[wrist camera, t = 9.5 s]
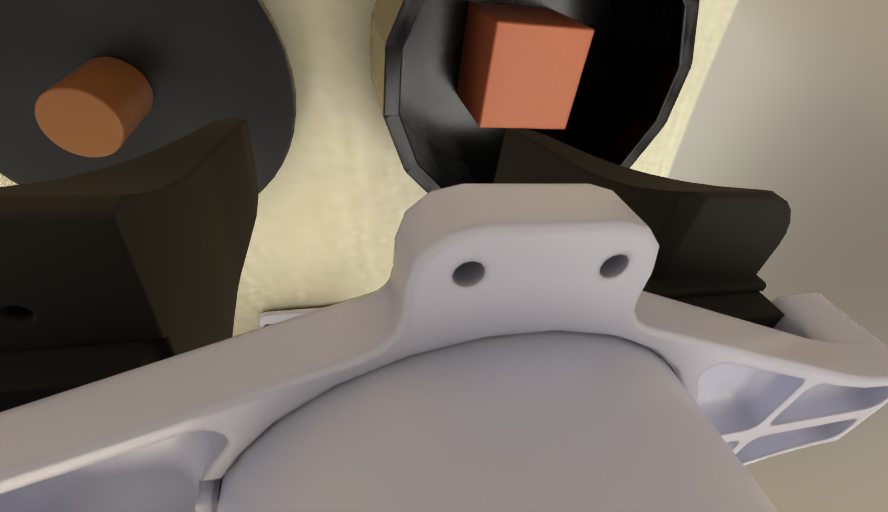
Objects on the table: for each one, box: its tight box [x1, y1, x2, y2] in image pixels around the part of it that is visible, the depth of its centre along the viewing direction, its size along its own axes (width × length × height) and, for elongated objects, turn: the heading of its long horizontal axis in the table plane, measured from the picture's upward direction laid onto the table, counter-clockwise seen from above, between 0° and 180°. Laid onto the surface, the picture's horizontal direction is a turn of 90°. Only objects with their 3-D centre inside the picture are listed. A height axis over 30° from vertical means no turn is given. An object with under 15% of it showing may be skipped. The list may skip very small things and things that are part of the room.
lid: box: [0, 0, 296, 193], centre depth 16 cm, size 13×13×5 cm
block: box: [457, 1, 594, 129], centre depth 19 cm, size 4×4×4 cm
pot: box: [370, 0, 699, 193], centre depth 18 cm, size 12×12×5 cm
